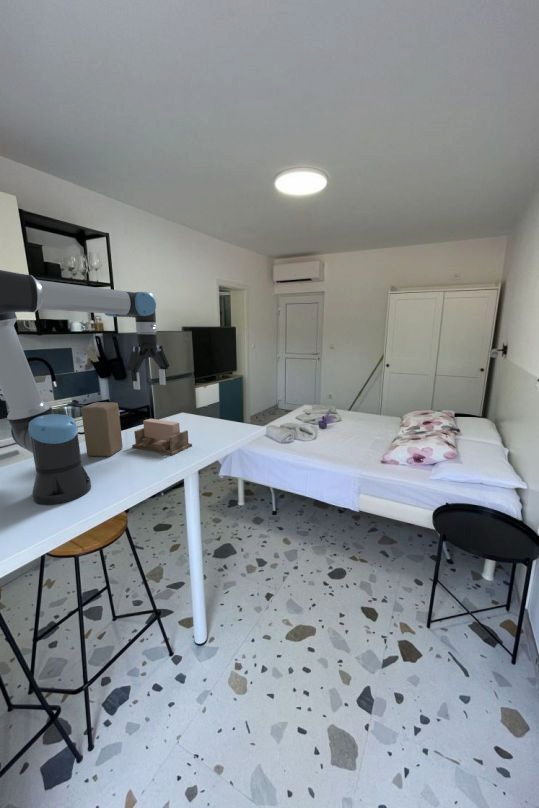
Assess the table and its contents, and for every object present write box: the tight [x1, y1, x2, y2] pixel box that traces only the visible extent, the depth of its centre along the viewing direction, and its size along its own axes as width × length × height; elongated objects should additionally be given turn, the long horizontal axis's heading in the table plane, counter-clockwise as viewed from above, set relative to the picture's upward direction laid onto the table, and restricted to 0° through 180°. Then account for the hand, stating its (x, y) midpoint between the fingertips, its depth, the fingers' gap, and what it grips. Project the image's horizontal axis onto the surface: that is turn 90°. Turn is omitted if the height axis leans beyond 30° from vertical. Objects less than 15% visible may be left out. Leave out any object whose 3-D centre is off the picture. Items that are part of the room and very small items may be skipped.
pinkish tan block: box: [142, 418, 181, 441], centre depth 139 cm, size 4×16×7 cm, turn 64°
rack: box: [132, 427, 193, 456], centre depth 140 cm, size 12×22×7 cm, turn 64°
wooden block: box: [80, 401, 123, 458], centre depth 132 cm, size 10×10×20 cm
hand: (150, 387), depth 135 cm, fingers open, 13 cm apart
